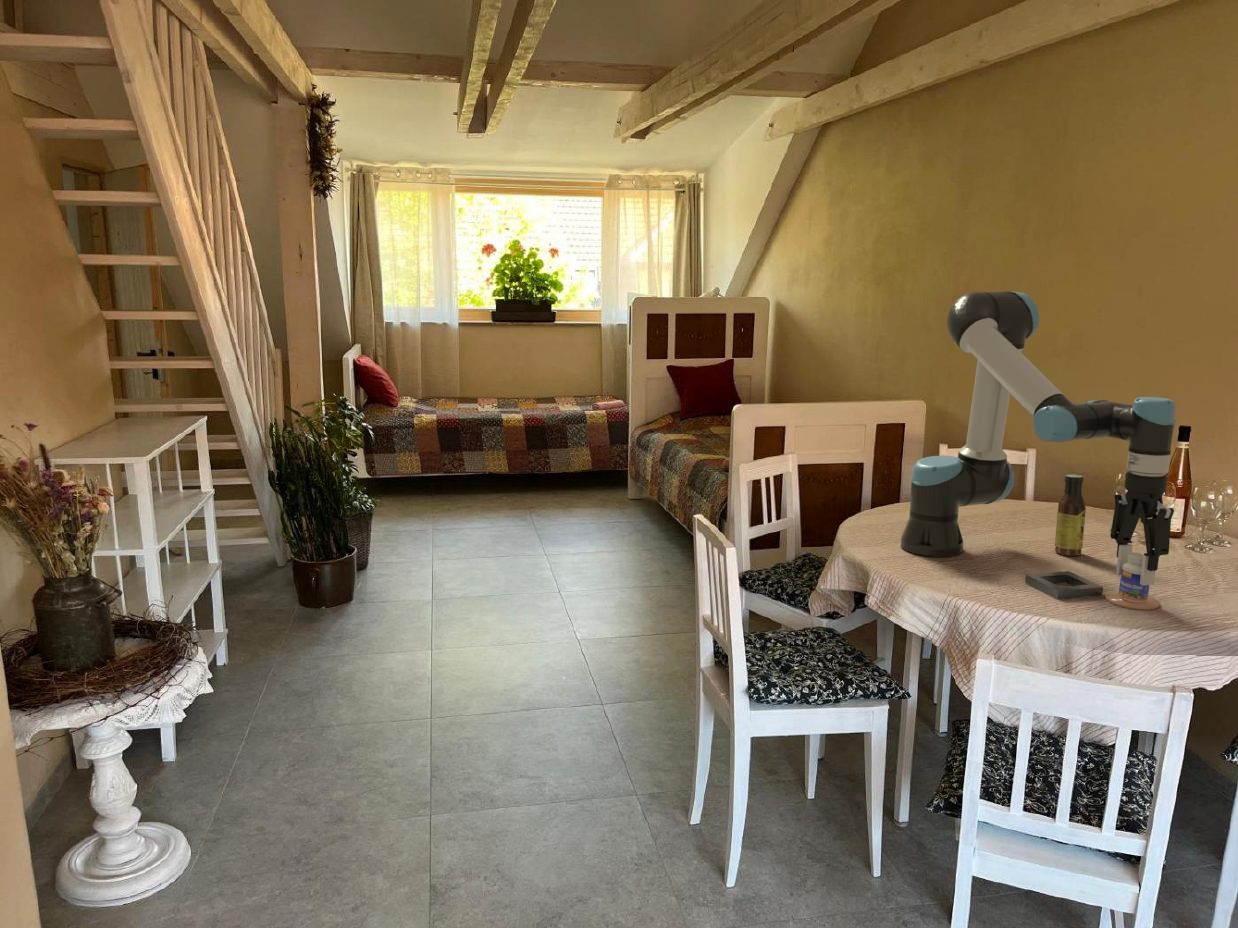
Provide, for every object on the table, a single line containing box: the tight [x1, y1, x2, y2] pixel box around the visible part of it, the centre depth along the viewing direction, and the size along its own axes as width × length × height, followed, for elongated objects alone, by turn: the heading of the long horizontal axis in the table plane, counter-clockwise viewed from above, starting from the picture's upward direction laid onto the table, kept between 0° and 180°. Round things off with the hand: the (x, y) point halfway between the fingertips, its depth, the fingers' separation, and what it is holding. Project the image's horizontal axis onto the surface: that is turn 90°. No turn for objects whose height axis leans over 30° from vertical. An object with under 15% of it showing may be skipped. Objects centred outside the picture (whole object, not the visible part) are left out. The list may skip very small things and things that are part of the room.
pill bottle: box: [1118, 552, 1151, 603], centre depth 187 cm, size 5×5×10 cm
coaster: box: [1105, 590, 1160, 611], centre depth 188 cm, size 10×10×1 cm
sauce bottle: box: [1054, 473, 1087, 557], centre depth 220 cm, size 7×6×20 cm
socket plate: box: [1024, 570, 1104, 600], centre depth 196 cm, size 11×11×2 cm
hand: (1134, 578), depth 188 cm, fingers open, 6 cm apart
